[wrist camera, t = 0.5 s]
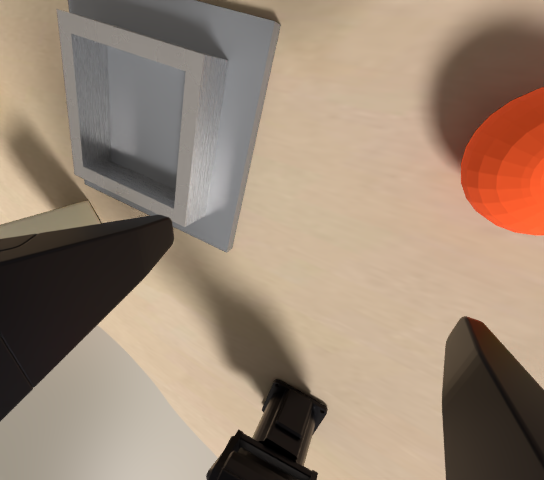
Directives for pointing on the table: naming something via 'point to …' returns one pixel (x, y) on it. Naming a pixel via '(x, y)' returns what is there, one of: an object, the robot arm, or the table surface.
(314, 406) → the robot arm
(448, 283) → the table surface
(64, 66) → the port collar
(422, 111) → the table surface
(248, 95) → the port base
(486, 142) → the clementine
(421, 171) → the table surface
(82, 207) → the skincare box
